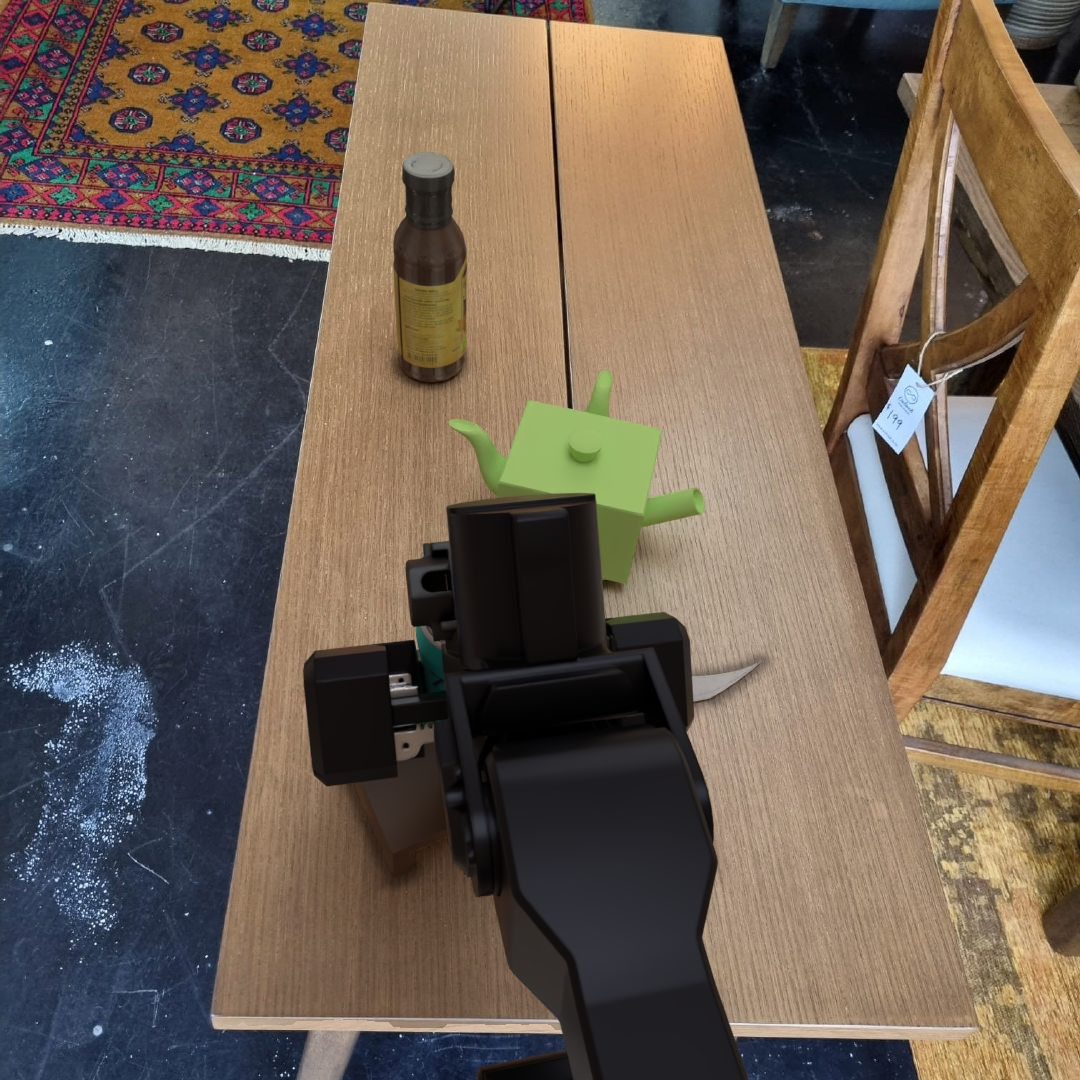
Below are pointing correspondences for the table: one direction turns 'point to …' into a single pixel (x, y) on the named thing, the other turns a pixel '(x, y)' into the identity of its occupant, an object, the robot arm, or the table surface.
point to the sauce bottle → (430, 272)
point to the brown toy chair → (406, 809)
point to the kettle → (586, 470)
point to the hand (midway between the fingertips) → (480, 660)
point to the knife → (716, 682)
